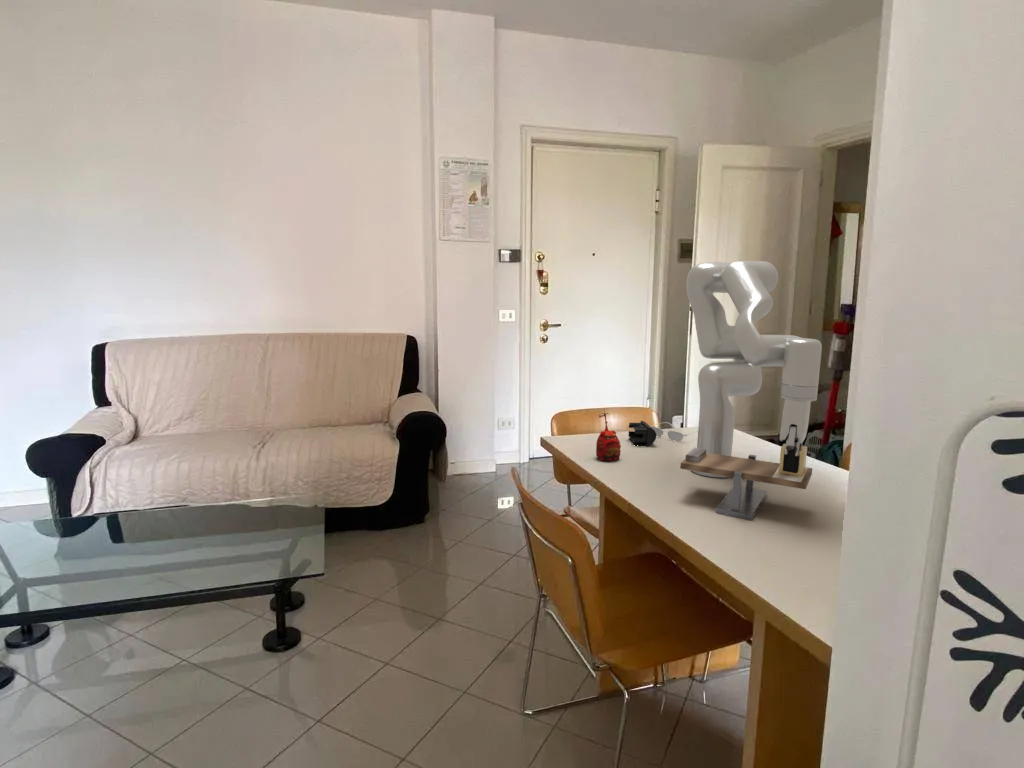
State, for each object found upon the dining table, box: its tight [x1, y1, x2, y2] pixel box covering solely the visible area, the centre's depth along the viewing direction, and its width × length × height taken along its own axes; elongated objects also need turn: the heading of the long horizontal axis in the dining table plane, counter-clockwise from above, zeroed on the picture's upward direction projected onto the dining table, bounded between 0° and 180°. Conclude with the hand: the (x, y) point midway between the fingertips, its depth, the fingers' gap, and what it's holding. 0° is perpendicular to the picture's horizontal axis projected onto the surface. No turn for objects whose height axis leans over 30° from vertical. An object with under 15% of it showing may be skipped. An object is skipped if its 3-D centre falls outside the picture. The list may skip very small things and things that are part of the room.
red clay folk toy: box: [595, 409, 622, 462], centre depth 181 cm, size 8×7×15 cm
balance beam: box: [680, 447, 813, 490], centre depth 145 cm, size 28×14×3 cm, turn 58°
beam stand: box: [715, 454, 768, 521], centre depth 146 cm, size 8×20×10 cm, turn 148°
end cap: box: [628, 420, 657, 447], centre depth 201 cm, size 10×7×7 cm
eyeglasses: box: [649, 421, 698, 443], centre depth 214 cm, size 15×18×4 cm
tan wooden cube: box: [779, 443, 808, 477], centre depth 139 cm, size 5×5×6 cm
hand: (791, 468), depth 139 cm, fingers closed on tan wooden cube, 5 cm apart
